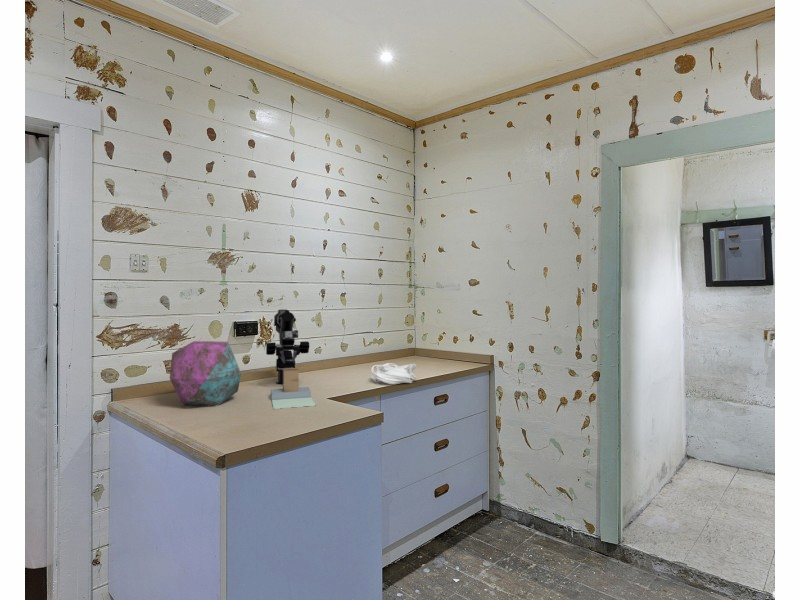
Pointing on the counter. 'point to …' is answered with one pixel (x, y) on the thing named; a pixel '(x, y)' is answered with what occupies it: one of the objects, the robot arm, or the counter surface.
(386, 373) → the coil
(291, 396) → the plate
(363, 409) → the counter surface
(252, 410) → the counter surface
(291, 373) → the block
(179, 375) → the decorative object
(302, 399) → the mat
